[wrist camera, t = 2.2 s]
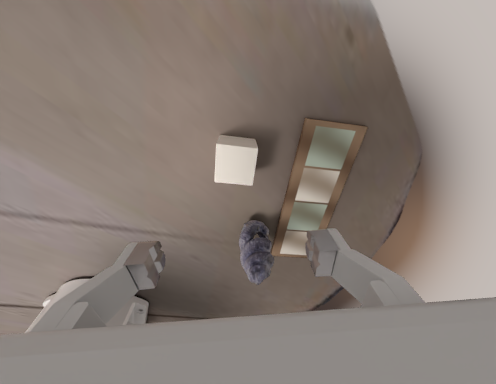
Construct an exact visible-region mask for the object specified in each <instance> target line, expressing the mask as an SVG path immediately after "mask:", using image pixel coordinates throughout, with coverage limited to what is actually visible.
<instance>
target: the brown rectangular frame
mask: <svg viewBox="0 0 496 384" xmlns="http://www.w3.org/2000/svg"><path fill="white" fill-rule="evenodd" d="M367 129H368V127H366V126H360V125H353V124H345V123H338V122H331V121H323V120H316V119H308V118H305V120H304V124H303V128H302V132H301V136H300V140H299V144H298V148H297V152H296V156H295V160H294V164H293V168H292V171H291V175H290V179H289V183H288V187H287V191H286V195H285V199H284V203H283V207H282V211H281V215H280V219H279V223H278V227H277V231H276V235H275V239H274V243H273V246H272V250H271V254H272V256H284V257H301V258H308V257H307V254H306V249H305V245H306V241H307V240H308V238H307V231H308V230H320V229H327V227H328V224H329V222H330V219H331V217H332V214H333V212H334V209H335V207H336V204H337V202H338V200H339V197H340V195H341V192H342V190H343V187H344V185H345V182H346V180H347V178H348V175H349V173H350V170H351V168H352V165H353V163H354V160H355V158H356V155H357V153H358V151H359V148H360V146H361V143H362V141H363V138H364V136H365V133H366V131H367Z"/></svg>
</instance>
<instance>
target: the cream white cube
mask: <svg viewBox="0 0 496 384" xmlns="http://www.w3.org/2000/svg"><path fill="white" fill-rule="evenodd" d="M257 154H258V146H257V143H256V140H255V139H251V138H243V137H235V136H226V135H220V136H219V138H218V141H217V143H216V160H215V180H214V182H220V183H230V184H241V185H251V186H253V179H254V173H255V166H256V160H257Z"/></svg>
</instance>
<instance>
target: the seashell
mask: <svg viewBox="0 0 496 384" xmlns="http://www.w3.org/2000/svg"><path fill="white" fill-rule="evenodd" d="M256 233H257V234H258V235H259V237H260V238H256V239H253V237H254V235H255V234H256ZM268 234H269V229H268V228H267V227H266V225H264V224H263V222H261V221H257V220H251V221H248V222H247V223H244V227H243V229H242V231H241V234H240V238H239V246H240V250H241V252H240V254H241V257H240V259H241V264H242V266H243V268H244V270H245V272H246V274H247V275H248V279H249V281H250V282H252V283H255V284H256V285H259V284H260V283H261V282H262V281H263V280H264V279H265V278H267V277H268V276H270V272H271V270H270V268H271V267H272V266H273V263H274V257H273V256H272V254H271V253H270V252H271V247H272V244H271V241H270V240H269V239H268V236H267V235H268Z"/></svg>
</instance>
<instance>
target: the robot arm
mask: <svg viewBox="0 0 496 384" xmlns="http://www.w3.org/2000/svg"><path fill="white" fill-rule="evenodd" d="M307 238H308V240H307V241H306V245H305V249H306V254H307V257H308V260H310V261H311V267H312V270H313V272H314V275H315V277H318V276H332V278H334V279H335V280H336V281H337V282H338V283H339V284H340V285H341V286H342V287H344V288H345V289H346V290H347V291H348V292H349V293H350V294H351V295H353V296H354V297H355V298H356V299H357V300H358V301H359V302H360V303H361V304H362V305H361V307H360V308H348V309H334V310H322V311H307V312H294V313H281V314H268V315H255V316H242V317H228V318H214V319H201V320H187V321H174V322H160V323H147V324H146V319H147V313H148V306H149V303H148V302H147V301H146V300H143V299H141V298H138V297H135V296H134V295H135V294H136V293H137V292H138V291H139V290H143V289H153V288H156V285H157V283H158V280H159V278H160V276H159V273H160V272H161V271H162V270H163V268H164V266H165V254H164V252H163V251H161V250H160V249H161V247H162V246H161V244H160V242H159V241H148V242H131V243H129V244H128V245H127V246H126V247H125V249H124V250H123V252H122V253H121V254H120V256H119V257H118V259H117V260H116V261H115V263H114V264H113V266H112V267H108V268H106V269H105V270H103V271H102V272H100V273H99V274H97V275H96V276H94V277H93V278H91V279H77V280H72V281H69V282H67V283H65V284H63V285H62V286H61V287H60V288H59V289H58V291H57V292H56V293H55V294H53V295H51V296H49V297H47V298H46V300H45V301H44V302H43V306H44V309H43V310H42V311H41V313H40V314H39V315H38V316H37V318H36V319H35V320H34V322H33V323H32V324H31V326H30V327H29V328H28V330H27V331H26V332H25V333H13V334H0V384H496V297H494V298H482V299H468V300H455V301H443V302H428V303H425V302H424V301H423V300H422V298H421V297H420V296H419V295H418V294H417V292H416V291H415V290H414V289H413V288H412V287H411V286H410V284H409V283H408V282H407V281H406V280H405V279H404V278H403V277H401V276H400V275H398V274H396V273H395V272H393V271H391V270H389V269H388V268H386V267H384V266H382V265H381V264H379V263H377V262H375V261H373V260H372V259H370V258H368V257H367V256H365V255H363V254H361V253H360V252H358V251H356V250H354V249H350V247H349V246H348V244H347V243H346V241H345V240H344V239H343V237H342V236H341V234H340V233H339V231H338V230H337V229H336V228H330V229H320V230H308V231H307Z"/></svg>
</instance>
